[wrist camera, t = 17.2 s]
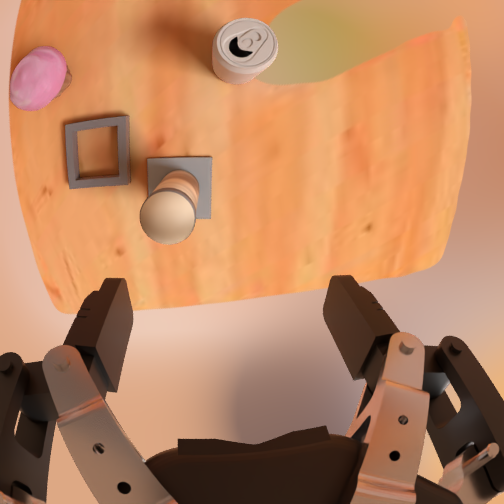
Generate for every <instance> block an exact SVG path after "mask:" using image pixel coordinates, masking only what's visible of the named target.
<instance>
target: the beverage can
mask: <svg viewBox="0 0 504 504" xmlns="http://www.w3.org/2000/svg"><path fill="white" fill-rule="evenodd" d="M277 52H278V42H277V39H276V36H275V33H274V32H273V30H272V29H271V28H270V27H269V26H268V25H267V24H265V23H264V22H262V21H259V20H257V19H252V18H240V19H236V20H233V21H231V22H228V23H227V24H225V25H223V26H222V27H221V28H220V29H219V30H218V31H217V33H216V35H215V37H214V40H213V48H212V66H213V70H214V72H215V74H216V75H217V76H218V77H219V78H220V79H221V80H223V81H224V82H227V83H230V84H243V83H246V82H249V81H251V80H252V79H253V78H255V77H256V76H257V75H258V74H259V73H261V72H262V71H263V70H265V69H266V68H267V67H268V66H270V65H271V64H272V62H273V61H274V60H275V58H276V55H277Z"/></svg>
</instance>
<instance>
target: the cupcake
mask: <svg viewBox="0 0 504 504" xmlns="http://www.w3.org/2000/svg"><path fill="white" fill-rule="evenodd" d="M71 80H72V75H71V74H70V71H69V69H68V66H67V64H66V61H65V58H64V56H63V55H62V54H61V52H59V51H58V50H57V49H55V48H53V47H50V46H41V47H37V48H35V49H33V50H32V51H31V52H30V53H29V54H28V55H27V56H25V57H24V58H23V59H22V60H21V61H20V62H19V64H18V65H17V66H16V68H15V70H14V71H13V74H12V76H11V81H10V99H11V101H12V102H13V104H14V105H15V106H16V107H17V108H19V109H22V110H26V111H36V110H39V109H41V108H43V107H45V106H46V105H47V104H48V103H49V102H50V101H52V100H53V99H54V98H56V97H58V96H60V95H61V93H62V92H63V91H64V90H65V89H66V88H67V87H68V86H69V85H70V83H71Z"/></svg>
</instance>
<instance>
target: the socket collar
mask: <svg viewBox="0 0 504 504" xmlns="http://www.w3.org/2000/svg"><path fill="white" fill-rule="evenodd" d="M109 126H118V163H119V175H107V176H95V177H84V178H80V174H79V162H78V145H77V131H80V130H87V129H93V128H101V127H109ZM65 136H66V156H67V168H68V179H69V187H70V189H77V188H89V187H101V186H116V185H128V184H129V183H130V182H131V177H130V152H129V116H121V117H112V118H104V119H97V120H90V121H84V122H78V123H73V124H67V125H65Z"/></svg>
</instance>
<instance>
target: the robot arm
mask: <svg viewBox="0 0 504 504" xmlns="http://www.w3.org/2000/svg"><path fill="white" fill-rule="evenodd" d="M323 316H324V320H325V322H326V324H327V326H328V328H329V330H330V332H331V334H332V336H333V339H334V341H335V343H336V345H337V347H338V349H339V351H340V353H341V355H342V357H343V359H344V361H345V363H346V365H347V368H348V370H349V372H350V374H351V376H352V378H353V380H359V379H363V378H365V380H366V384H365V386H364V388H363V391H362V394H361V398H360V401H359V404H358V407H357V409H356V412H355V415H354V418H353V421H352V423H351V426H350V428H349V429H348V431H347V433H346V435H345V436H342V435H336V434H329V433H328V430H327V427H326V426H321V427H316V428H311V429H306V430H300V431H293V432H290V433H288V434H285V435H282V436H280V437H277V438H275V439H272V440H269V441H266V442H263V443H260V444H256V445H252V444H245V443H237V442H231V441H225V440H219V439H178V447H177V448H173V449H169V450H166V451H163V452H160V453H158V454H156V455H154V456H152V457H151V458H149V459H148V460H146V461H145V459H144V458H143V457H142V455H141V454H140V453H139V451H138V450H137V449H136V447H135V446H134V445H133V443H132V442H131V441H130V439H129V438H128V436H127V435H126V433H125V432H124V430H123V429H122V427H121V425H120V424H119V422H118V421H117V419H116V418H115V416H114V414H113V413H112V411H111V410H110V408H109V406H108V404H107V403H106V401H105V397H106V393H107V391H109V392H117V390H118V384H119V380H120V375H121V371H122V366H123V362H124V357H125V353H126V349H127V345H128V341H129V337H130V333H131V330H132V325H133V310H132V306H131V301H130V297H129V292H128V288H127V283H126V280H125V279H124V278H106V279H105V280H104V282H103V284H102V286H101V288H100V290H99V291H93V292H92V293H91V294H90V295H88V296H87V297H86V298H85V300H84V302H83V304H82V305H81V307H80V310H79V311H78V313H77V317H76V318H75V320H74V322H73V324H72V326H71V328H70V330H69V333H68V335H67V337H66V339H65V341H64V344H63V345H61V346H57V347H55V348H53V349H51V350H50V351H49V352H48V353H47V354H46V355H45V357H44V359H43V361H39V362H32V363H24V362H23V360H22V359H21V357H20V356H19V355H18V354H16V353H13V352H9V353H5V354H3V355H1V356H0V504H46V496H47V481H48V471H49V463H50V455H51V448H52V442H53V436H54V430H55V425H56V421H57V425H58V428H59V430H60V432H61V435H62V437H63V439H64V441H65V444H66V446H67V448H68V450H69V452H70V454H71V456H72V458H73V460H74V462H75V464H76V466H77V468H78V469H79V471H80V473H81V475H82V477H83V478H84V480H85V482H86V484H87V485H88V487H89V488H90V490H91V492H92V493H93V495H94V497H95V498H96V499H97V501H98V503H99V504H486V503H487V502H488V501H490V500H491V499H492V498H494V497H496V496H498V495H499V494H501V493H503V492H504V401H503V399H502V397H501V396H500V394H499V393H498V391H497V389H496V388H495V386H494V384H493V383H492V381H491V380H490V378H489V377H488V375H487V374H486V372H485V371H484V369H483V368H482V366H481V365H480V363H479V362H478V361H477V359H476V358H475V356H474V355H473V353H472V352H471V351H470V349H469V348H468V346H467V345H466V344H465V343H464V342H463V341H462V340H461V339H459V338H457V337H453V336H446V337H444V338H443V339H442V341H441V342H440V344H439V346H424V345H423V343H422V342H421V341H420V340H419V339H418V338H417V337H416V336H414V335H412V334H410V333H406V332H400V331H399V330H398V328H397V327H396V325H395V324H394V323H393V321H392V320H391V319H390V317H389V316H388V314H387V313H386V312H385V310H383V308H382V306H381V305H380V304H379V303H378V301H377V300H376V298H375V297H374V296H373V294H372V293H371V292H369V291H368V290H367V289H365V288H364V287H362V286H359V285H358V283H357V282H356V281H355V279H354V278H353V277H352V276H351V275H338V276H332V278H331V280H330V283H329V287H328V291H327V295H326V299H325V303H324V307H323ZM450 383H451V385H452V386H453V388H454V390H455V391H456V393H457V395H458V397H459V398H460V401H461V408H460V411H459V412H458V413H457V412H456V410H455V408H454V407H453V405H452V403H451V401H450V399H449V397H448V395H447V394H446V392H445V389H446V388H447V386H448V385H449V384H450ZM19 410H20V411H21V414H20V418H19V422H18V426H17V431H16V434H15V435H14V429H15V425H16V421H17V417H18V413H19ZM426 429H427V431H428V433H429V435H430V438H431V440H432V442H433V445H434V447H435V450H436V452H437V454H438V457H439V459H440V462H441V464H442V466H443V469H444V471H443V477H441V478H440V480H439V483H438V484H436V483H433V482H432V481H430V480H427V479H426V478H424V477H422V476H420V475H418V474H417V473H418V468H419V464H420V459H421V455H422V449H423V444H424V438H425V432H426Z"/></svg>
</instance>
